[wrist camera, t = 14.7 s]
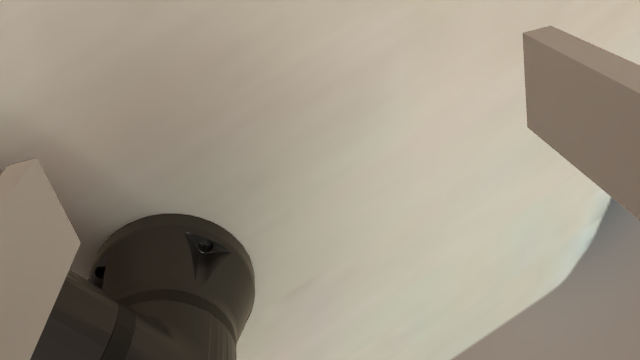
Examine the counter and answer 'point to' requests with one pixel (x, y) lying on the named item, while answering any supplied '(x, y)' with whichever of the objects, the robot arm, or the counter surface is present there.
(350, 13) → the counter surface
